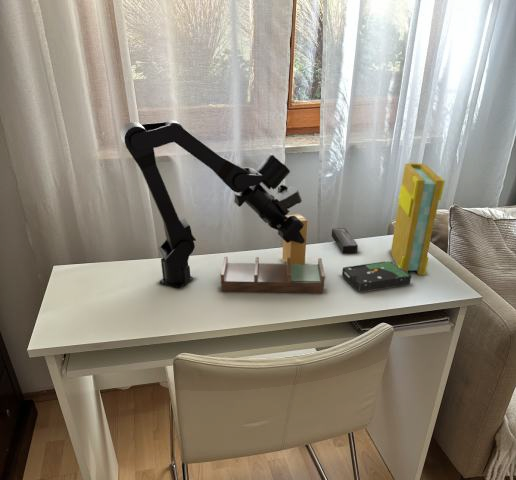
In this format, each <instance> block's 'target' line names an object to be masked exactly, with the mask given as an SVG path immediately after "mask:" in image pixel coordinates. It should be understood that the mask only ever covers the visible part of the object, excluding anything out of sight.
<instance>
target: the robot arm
mask: <svg viewBox="0 0 516 480" xmlns="http://www.w3.org/2000/svg"><path fill="white" fill-rule="evenodd" d="M120 138H121V142H122V143H123V144H124V146H125V147H126V149H127V151H128V152H129V154H130V156H131V157H132V159H133V161H135V163H136V164H137V166H138V167H139V169H140V171H141V174H142V176H143V178H144V180H145V183H146V185H147V188H148V190H149V192H150V194H151V197H152V199H153V201H154V203H155V206H156V208H157V210H158V212H159V215H160V217H161V219H162V223H163V229H164V235H165V240H164V241H163V242H162V243H161V245H160V246H159V247H158V249H159V251H160V253H161V255H162V258H160V265H161V273H162V279H160V280H159V284H161V285H164V286H168V287H172V288H176V289H181V288H182V287H184V286H185V285H187V284H188V283H190V282H191V281H192V280H193V279H194V276H192V275H191V267H190V265H189V258H190V255H192V254H193V252H194V250H195V247H196V245H195V241H197V239H196V238H195V236H194V235H193V233H192V228H191V226H190V224H189V223H188V221H187V219H186V218H185V217H183V218H182V219H180V218H179V216H178V213H177V211H176V209H175V205H174V204H173V200H172V199H171V197H170V194H169V191H168V189H167V187H166V185H165V182H164V180H163V178H162V175H161V172H160V170H159V168H158V165H157V162H156V161H157V160H156V154H155V149H156V148H161V147H163V146H165V145H168V144H171V143H175V144H176V145H178V146H180V148H182V149H183V150H185V151H186V152H187V153H188V154H190V155H191V156H193V158H195V159H197V160H198V161H200V162H201V163H202V164H204V165H205V166H207V167H208V168H209V169H210V170H211V171H213V173H214V174H215V175H216V176H217V177H218V178H219V179H220V180H221V181H222V182H223V183H224V185H226V186H227V187H228V188H229V189H230V190H231V191H233V192H234V194H233V195H234V200H233V201H234V204H235V205H236V206H238V207H239V208H241V207H242V206H243V204H244V203H245V204H246V205H247V206H248V207H249V208H251V210H253V211H254V212H255V213H256V215H258V218H260V219H261V220H262V221H263V222H264V223H265V224H267V225H268V226H269V227H270V228H271V229H274V230H277V235H278V236H279V237H280V238H281V239H282V240H283V239H284V240H285V241H286V242H287V243H288V242H290V241H294V242H298V243H301V244H303V243H304V242H305V240H304V238H303V236H302V235H301V233H300V230H301V229H302V228H303V227H304V224H303V223H302V222H301V221H300V220H299V219H298V218H297V217H295V216H289V217H287V216H286V215H289V213H290V210H289V209H291V208H292V207H294V206H296V205H298V204H301V203H302V202H303V199H302V196H301V194H300V192H299V189H298V188H296V187H295V186H293V185H292V186H291V185H288V186H286V185H285V184H283V181H284V180H285V179H286V177H287V176H289V174H290V173H291V170H290V169H289V168H288V166H286V164H284V163H283V162H281V161H280V160H279V159H278V158H277V157H276V156H275V155H274V154H272V153H268V155H267V156H266V157H265V159H264V161H262V163H261V164H260V165H259V166H258V167H257V168H256V169H254V168H253V167H244V166H242V165H240V164H239V163H237V162H236V161H233V160H231V159H229V158H226V157H225V156H222V155H220V154H218V153H217V152H215V151H214V150H212V148H210V147H209V146H208V145H206V144H205V143H204V142H203V141H201V140H200V139H198V138H197V137H196V136H194V135H193V134H191V132H189V131H188V130H187V129H185V128H184V127H183V126H182V125H181V124H180V123H179V122H178V121H176V120H175V119H170V120H167V121H161V122H148V123H142V124H141V123H139V122H138V121H137V122H136V121H129V122H127V123H125V124H124V125H123V126H122V128H121V131H120ZM262 185H263V186H264V187H266V188H267V190H271V189H272V190H276V189H277V192H276V195H275V196H274V195H272V194H271V193H269V192H268V191H267V190H266V189H265V188H264V187H263V186H262ZM284 220H285V221H284Z"/></svg>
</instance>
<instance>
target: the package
mask: <svg viewBox="0 0 516 480" xmlns="http://www.w3.org/2000/svg"><path fill="white" fill-rule="evenodd" d="M286 216H287V217H289V216H295V217H297V218H298V219H299V220H300V221H301V222H302V223H303V224H304V227H303V228H302V229H301V230H300V233H301V235H302V236H303V238H304V240H305V242H304V243H303V244H301V243H298V242H294V241H290V242H288V243H287V242H286V241H285V240H284V239H283V238H282V257H281V258H282V260H283V261H284V262H285V264H287V258H290V264H306V250H307V234H308V220H307V219H306V217H304V216H303V215H301V214H300V213H295V214H287V215H286ZM284 221H285V220H284Z"/></svg>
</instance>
